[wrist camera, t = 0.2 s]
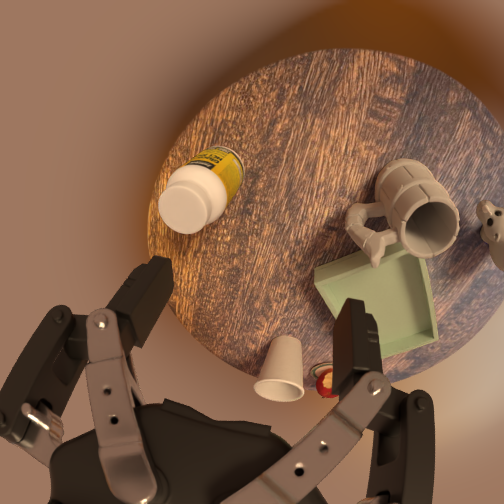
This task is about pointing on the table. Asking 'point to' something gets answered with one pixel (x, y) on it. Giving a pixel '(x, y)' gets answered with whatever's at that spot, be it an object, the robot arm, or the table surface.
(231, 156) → the pill bottle
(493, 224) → the toy rhinoceros
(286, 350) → the dixie cup
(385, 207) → the mug
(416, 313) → the tray
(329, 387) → the apple
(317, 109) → the table surface
